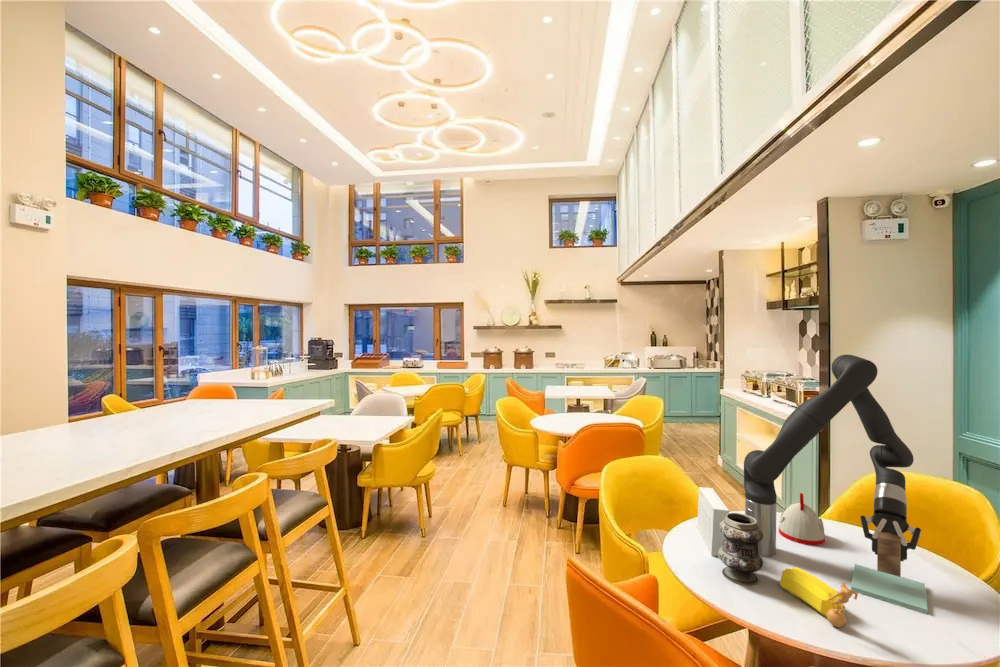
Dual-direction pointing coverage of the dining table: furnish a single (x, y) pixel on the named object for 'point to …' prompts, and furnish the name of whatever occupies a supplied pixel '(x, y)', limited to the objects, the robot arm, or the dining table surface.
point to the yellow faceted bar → (809, 589)
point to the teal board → (890, 588)
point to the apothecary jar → (740, 548)
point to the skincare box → (711, 519)
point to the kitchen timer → (801, 524)
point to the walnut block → (889, 553)
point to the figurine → (836, 614)
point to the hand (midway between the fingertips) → (889, 556)
